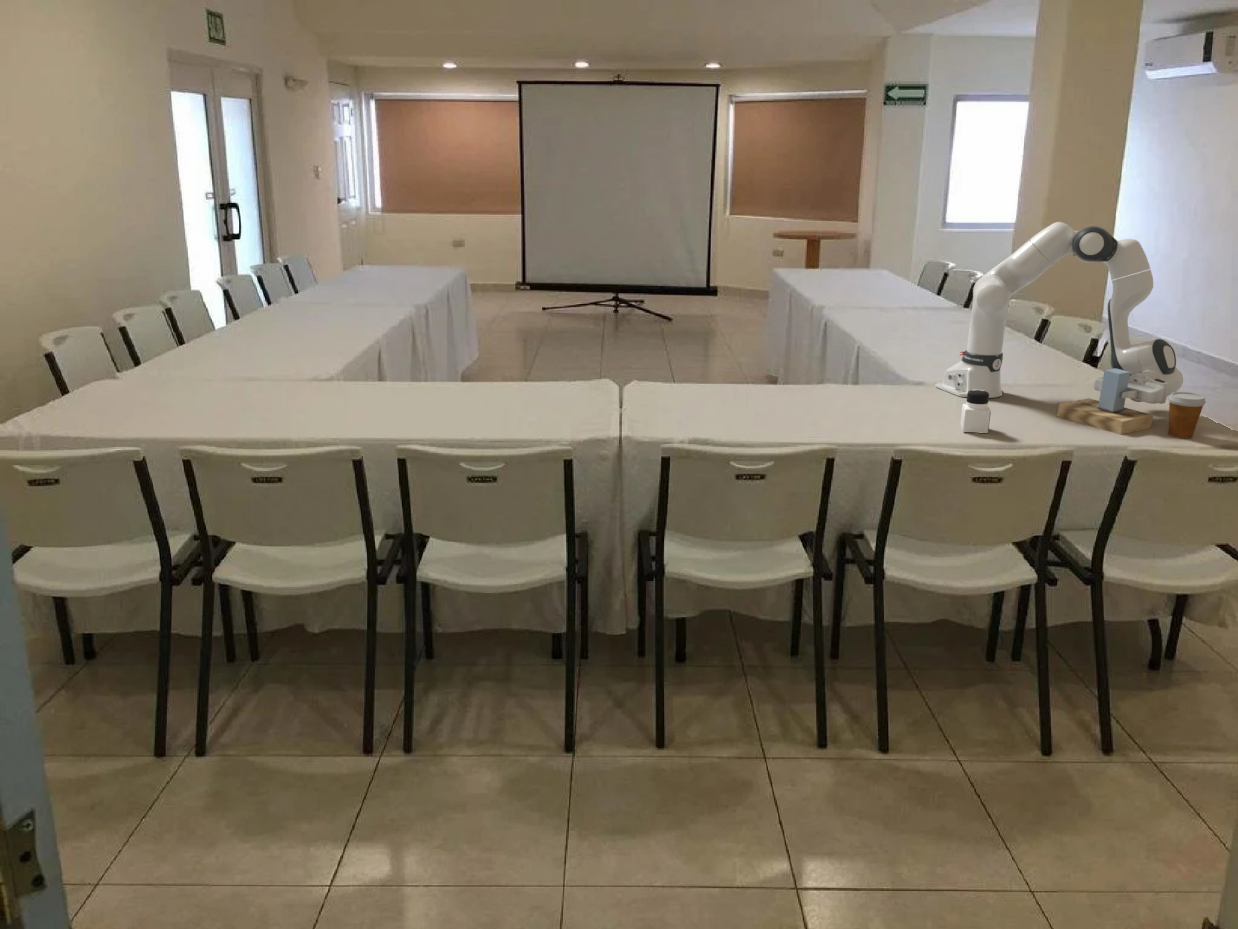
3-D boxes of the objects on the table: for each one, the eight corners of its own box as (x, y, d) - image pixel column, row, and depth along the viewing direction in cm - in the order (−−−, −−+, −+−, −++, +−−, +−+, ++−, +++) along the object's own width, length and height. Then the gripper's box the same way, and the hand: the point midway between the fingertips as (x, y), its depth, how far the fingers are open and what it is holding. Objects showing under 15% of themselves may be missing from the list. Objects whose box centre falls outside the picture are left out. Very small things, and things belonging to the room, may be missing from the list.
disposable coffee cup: (1155, 431, 299) (1162, 391, 295) (1185, 430, 300) (1193, 391, 296) (1174, 440, 290) (1182, 400, 286) (1206, 439, 291) (1214, 399, 287)
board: (1057, 416, 314) (1059, 403, 313) (1087, 410, 320) (1089, 398, 319) (1120, 434, 296) (1122, 421, 294) (1150, 427, 302) (1153, 414, 301)
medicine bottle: (988, 434, 296) (993, 394, 292) (962, 432, 298) (967, 393, 294) (984, 427, 303) (989, 388, 299) (960, 426, 304) (964, 387, 300)
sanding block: (1097, 408, 306) (1104, 370, 302) (1108, 406, 309) (1115, 368, 304) (1112, 412, 302) (1119, 373, 298) (1123, 410, 304) (1130, 371, 300)
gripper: (1112, 370, 317) (1083, 375, 311) (1173, 384, 300) (1144, 389, 294) (1109, 389, 319) (1080, 395, 313) (1170, 404, 302) (1140, 410, 296)
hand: (1111, 392), depth 303 cm, fingers closed on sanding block, 5 cm apart
